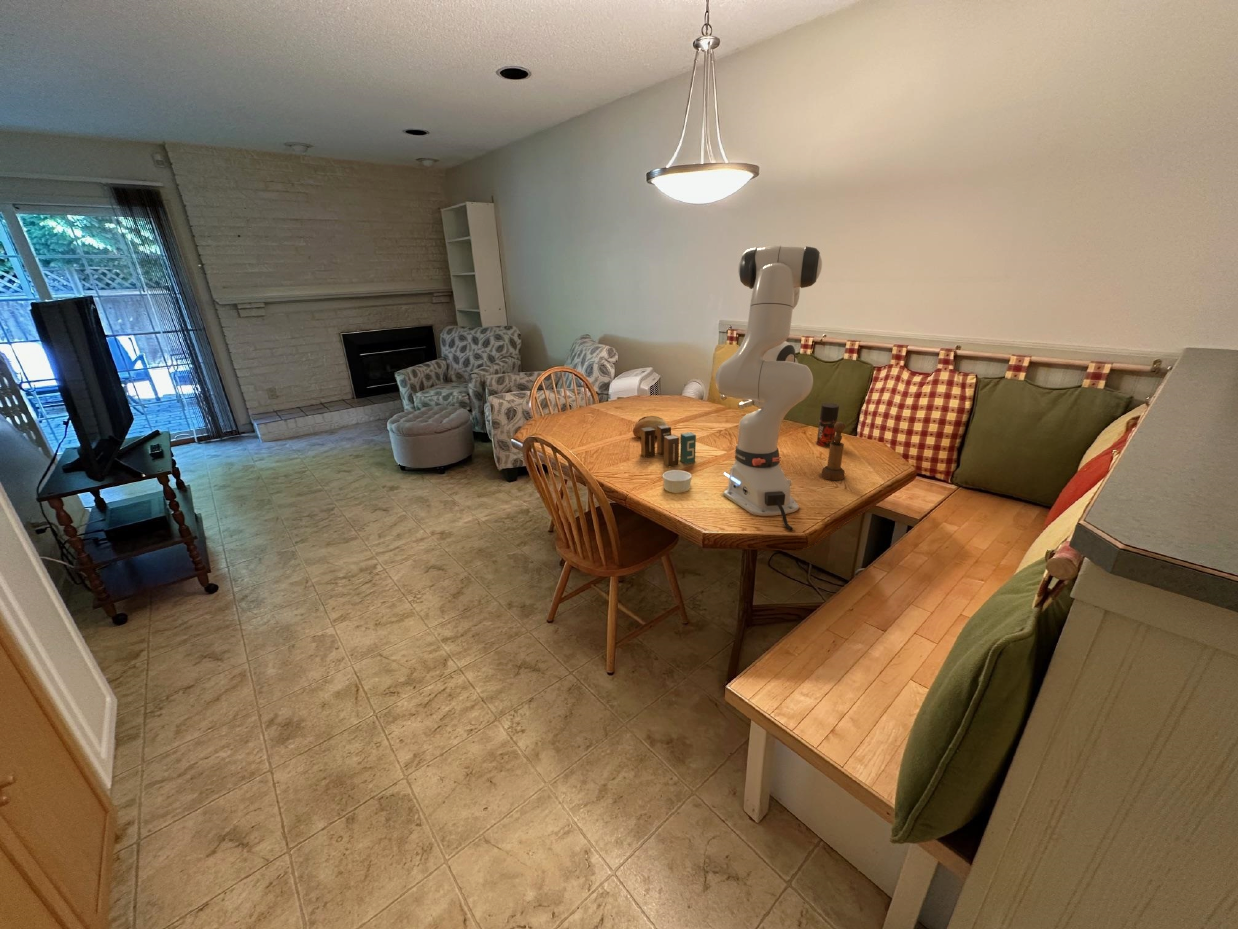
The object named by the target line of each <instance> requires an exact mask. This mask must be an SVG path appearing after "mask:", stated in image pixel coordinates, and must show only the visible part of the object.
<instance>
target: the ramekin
mask: <svg viewBox="0 0 1238 929" xmlns="http://www.w3.org/2000/svg"><path fill="white" fill-rule="evenodd" d="M692 477H693V476H692V474H691V473H690V472H688V471H686V470H682V469H681V470H680V469H672V470H667V471H665V472H664V473H663V474H662V481H663V488H664V490H665V491H667V492H668V493H672V494H673V493H674V494H681V493H686V492H687V491H689V490H690V489H691V482H692Z"/></svg>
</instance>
